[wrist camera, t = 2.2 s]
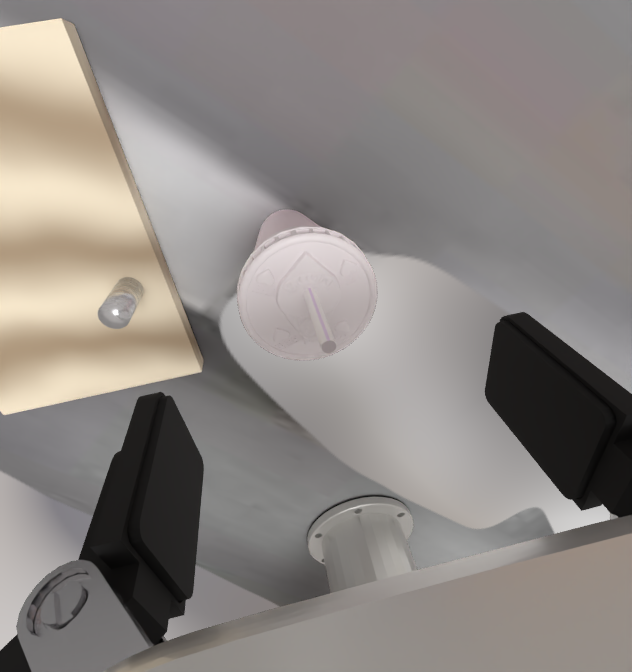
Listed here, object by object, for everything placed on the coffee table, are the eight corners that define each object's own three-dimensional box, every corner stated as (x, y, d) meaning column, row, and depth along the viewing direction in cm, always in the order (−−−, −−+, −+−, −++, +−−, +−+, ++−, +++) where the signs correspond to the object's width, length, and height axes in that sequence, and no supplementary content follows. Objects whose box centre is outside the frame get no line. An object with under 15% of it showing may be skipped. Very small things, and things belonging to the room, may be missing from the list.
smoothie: (332, 182, 23) (426, 262, 12) (336, 277, 27) (410, 412, 15) (229, 192, 23) (217, 288, 11) (246, 288, 26) (251, 440, 14)
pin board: (203, 359, 29) (197, 404, 24) (14, 400, 28) (-26, 454, 23) (74, 24, 18) (22, 0, 13) (-246, 72, 17) (-407, 63, 13)
